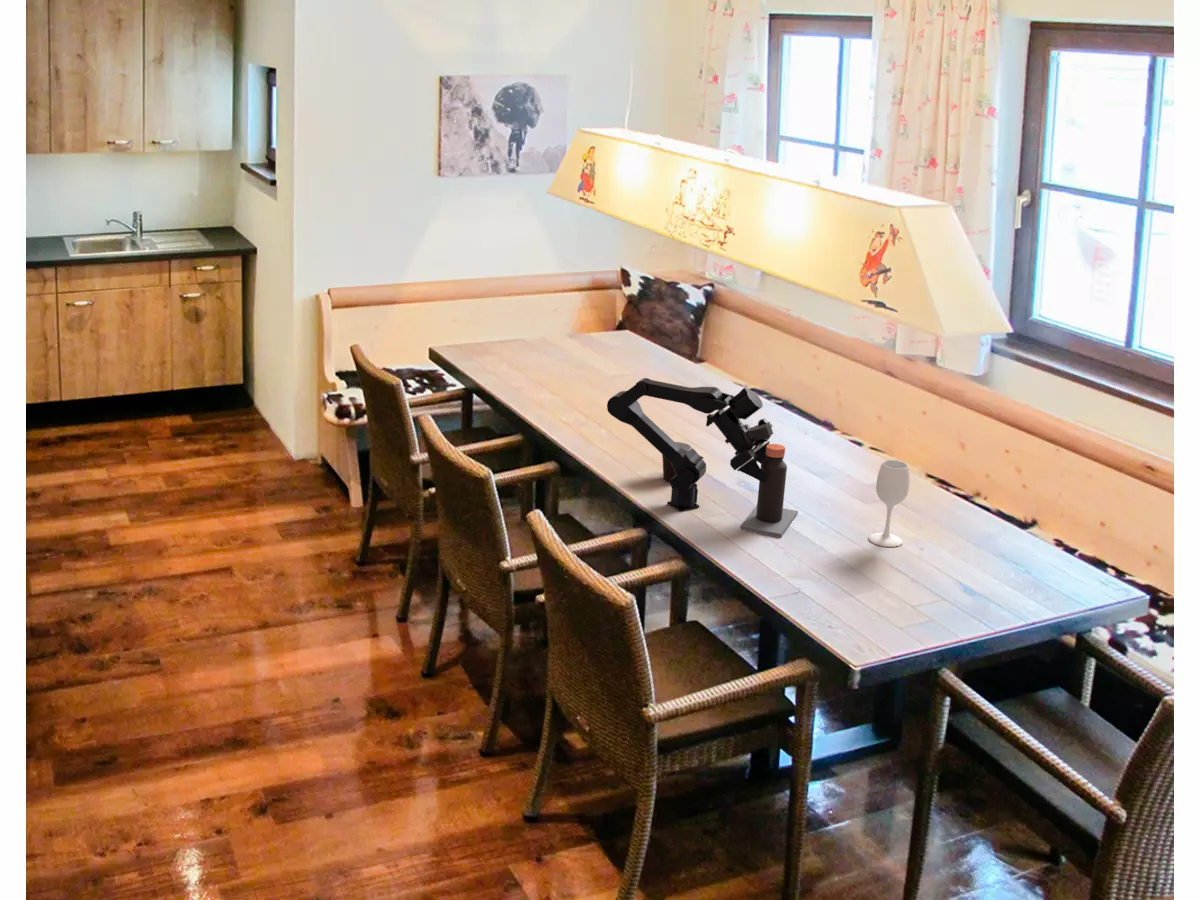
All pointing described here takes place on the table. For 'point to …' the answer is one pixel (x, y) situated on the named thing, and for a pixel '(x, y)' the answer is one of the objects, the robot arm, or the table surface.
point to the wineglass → (891, 496)
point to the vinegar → (772, 485)
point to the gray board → (769, 528)
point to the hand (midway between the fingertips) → (769, 476)
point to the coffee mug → (667, 466)
